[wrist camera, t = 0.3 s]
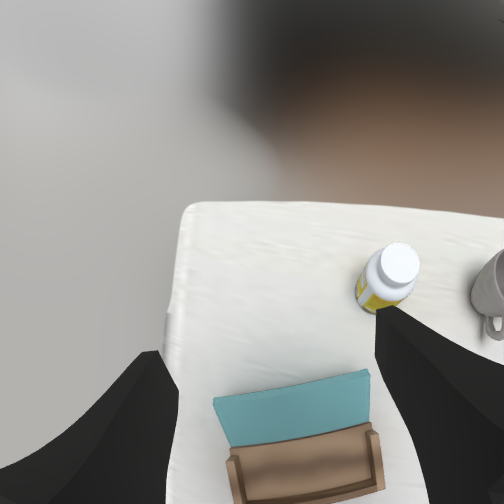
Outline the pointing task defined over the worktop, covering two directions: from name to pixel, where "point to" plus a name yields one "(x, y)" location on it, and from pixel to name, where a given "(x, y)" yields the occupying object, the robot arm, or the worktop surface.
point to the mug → (490, 294)
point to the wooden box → (308, 468)
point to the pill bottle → (388, 277)
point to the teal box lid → (295, 410)
